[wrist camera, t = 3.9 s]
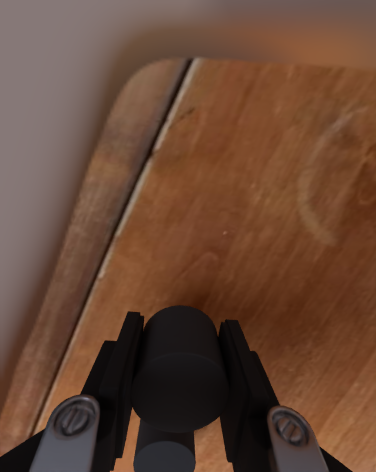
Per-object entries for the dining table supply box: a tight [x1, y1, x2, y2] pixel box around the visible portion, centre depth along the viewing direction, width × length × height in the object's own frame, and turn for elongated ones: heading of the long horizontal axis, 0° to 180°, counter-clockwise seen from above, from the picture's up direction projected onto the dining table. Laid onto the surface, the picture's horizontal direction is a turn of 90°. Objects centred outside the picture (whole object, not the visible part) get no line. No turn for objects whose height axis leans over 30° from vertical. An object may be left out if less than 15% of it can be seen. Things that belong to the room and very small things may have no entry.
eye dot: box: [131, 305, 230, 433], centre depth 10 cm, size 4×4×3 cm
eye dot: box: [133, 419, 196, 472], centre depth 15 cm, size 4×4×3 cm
